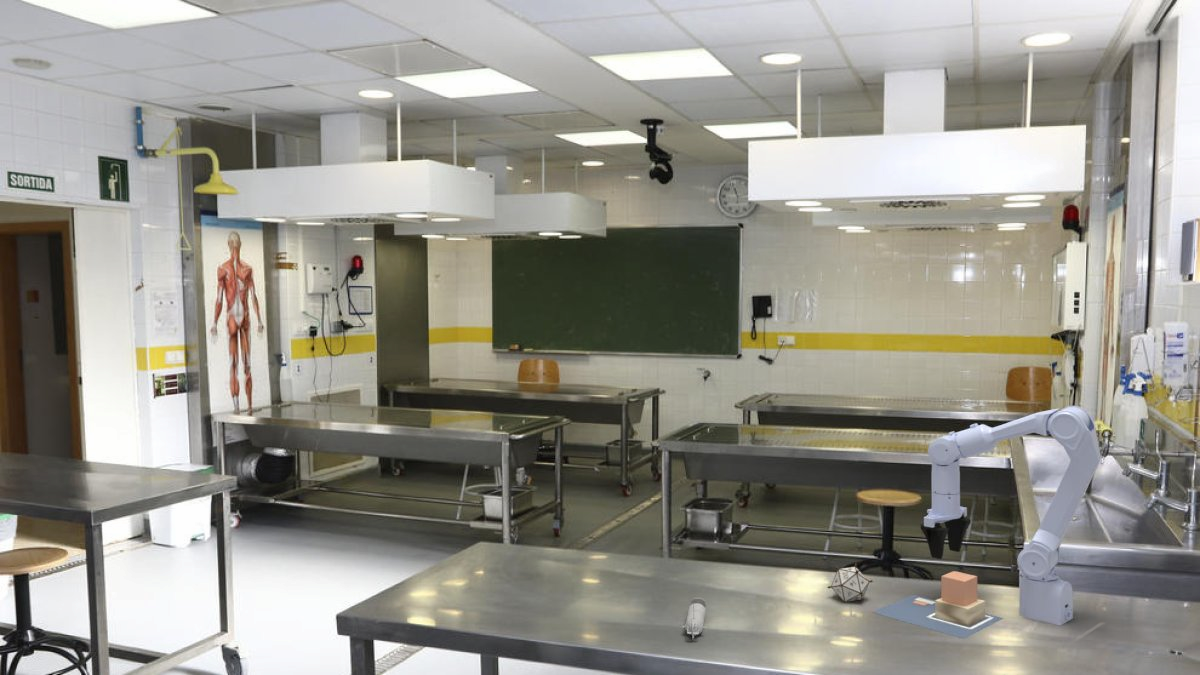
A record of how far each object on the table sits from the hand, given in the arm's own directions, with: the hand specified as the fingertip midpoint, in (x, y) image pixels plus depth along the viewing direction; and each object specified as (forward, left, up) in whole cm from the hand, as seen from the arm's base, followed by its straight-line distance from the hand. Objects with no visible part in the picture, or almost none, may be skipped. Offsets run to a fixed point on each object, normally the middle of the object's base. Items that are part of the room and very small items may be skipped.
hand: (945, 554), depth 196 cm
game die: (+14, +15, -11) cm, 23 cm away
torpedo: (+27, +50, -11) cm, 58 cm away
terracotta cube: (-8, +9, -6) cm, 13 cm away
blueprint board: (-4, +11, -10) cm, 16 cm away
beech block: (-8, +9, -10) cm, 15 cm away
